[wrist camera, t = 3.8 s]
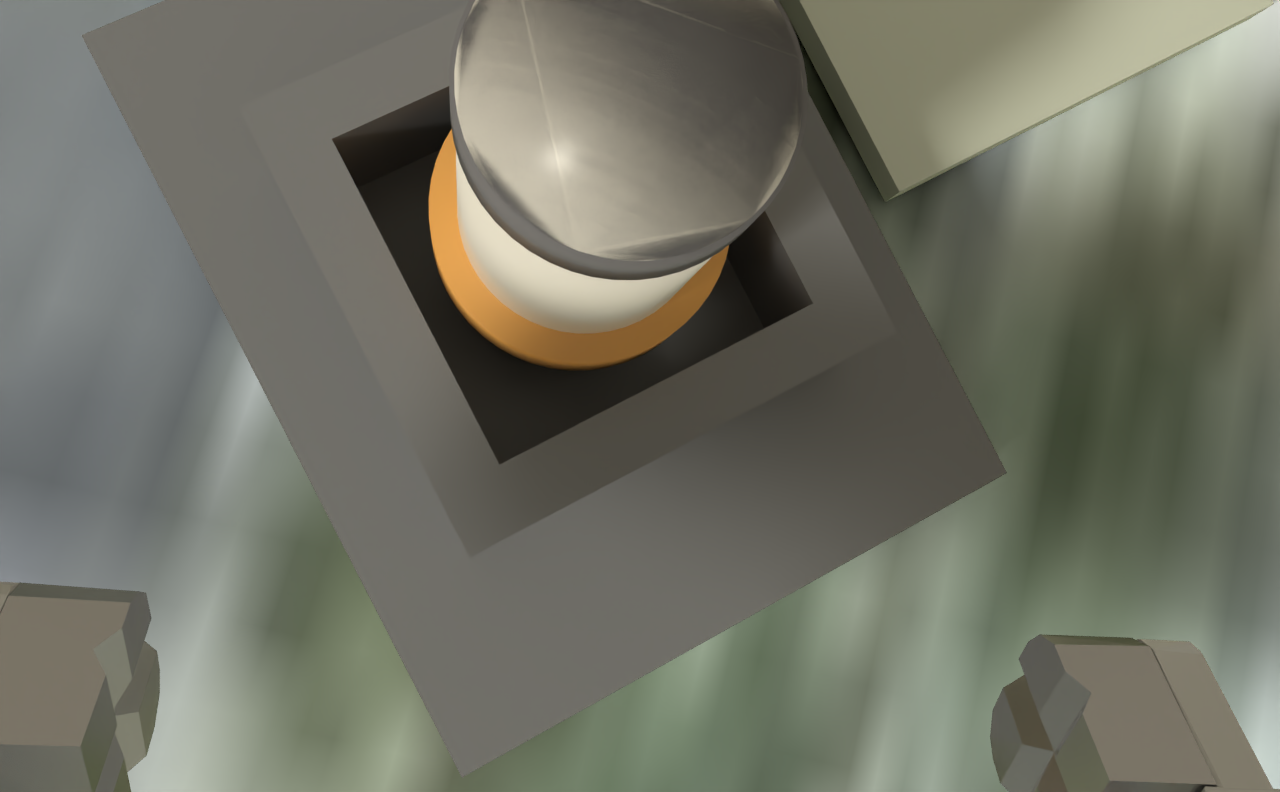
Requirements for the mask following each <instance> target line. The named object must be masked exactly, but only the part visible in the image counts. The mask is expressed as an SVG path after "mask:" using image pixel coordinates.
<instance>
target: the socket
mask: <svg viewBox="0 0 1280 792" xmlns="http://www.w3.org/2000/svg"><path fill="white" fill-rule="evenodd" d="M468 2H469V0H165V1H162V2H160V3H157V4H155V5H153V6H150V7H148V8H145V9H143V10H141V11H138V12H136V13H134V14H131V15H129V16H126V17H124V18H122V19H119V20H117V21H115V22H112V23H110V24H107V25H105V26H103V27H100V28H98V29H95V30H93V31H91V32H88V33H86V34H84V35H82V37H83V39H84V41H85V43H86V45H87V47H88V49H89V51H90V52H91V54H92V56H93V58H94V60H95V62H96V64H97V66H98V68H99V70H100V72H101V74H102V76H103V78H104V80H105V82H106V84H107V86H108V88H109V90H110V92H111V93H112V95H113V97H114V99H115V101H116V103H117V105H118V107H119V109H120V111H121V113H122V115H123V117H124V119H125V121H126V123H127V125H128V127H129V129H130V131H131V132H132V134H133V136H134V138H135V140H136V142H137V144H138V146H139V148H140V150H141V152H142V154H143V156H144V158H145V160H146V162H147V164H148V166H149V168H150V170H151V172H152V173H153V175H154V177H155V179H156V181H157V183H158V185H159V187H160V189H161V191H162V193H163V195H164V197H165V199H166V201H167V203H168V205H169V207H170V209H171V211H172V213H173V214H174V216H175V218H176V220H177V222H178V224H179V226H180V228H181V230H182V232H183V234H184V236H185V238H186V240H187V242H188V244H189V246H190V248H191V250H192V252H193V254H194V255H195V257H196V259H197V261H198V263H199V265H200V267H201V269H202V271H203V273H204V275H205V277H206V279H207V281H208V283H209V285H210V287H211V289H212V291H213V293H214V294H215V296H216V298H217V300H218V302H219V304H220V306H221V308H222V310H223V312H224V314H225V316H226V318H227V320H228V322H229V324H230V326H231V328H232V330H233V332H234V334H235V335H236V337H237V339H238V341H239V343H240V345H241V347H242V349H243V351H244V353H245V355H246V357H247V359H248V361H249V363H250V365H251V367H252V369H253V371H254V373H255V375H256V376H257V378H258V380H259V382H260V384H261V386H262V388H263V390H264V392H265V394H266V396H267V398H268V400H269V402H270V404H271V406H272V408H273V410H274V412H275V414H276V416H277V417H278V419H279V421H280V423H281V425H282V427H283V429H284V431H285V433H286V435H287V437H288V439H289V441H290V443H291V445H292V447H293V449H294V451H295V453H296V455H297V456H298V458H299V460H300V462H301V464H302V466H303V468H304V470H305V472H306V474H307V476H308V478H309V480H310V482H311V484H312V486H313V488H314V490H315V492H316V494H317V496H318V497H319V499H320V501H321V503H322V505H323V507H324V509H325V511H326V513H327V515H328V517H329V519H330V521H331V523H332V525H333V527H334V529H335V531H336V533H337V535H338V537H339V538H340V540H341V542H342V544H343V546H344V548H345V550H346V552H347V554H348V556H349V558H350V560H351V562H352V564H353V566H354V568H355V570H356V572H357V574H358V576H359V578H360V579H361V581H362V583H363V585H364V587H365V589H366V591H367V593H368V595H369V597H370V599H371V601H372V603H373V605H374V607H375V609H376V611H377V613H378V615H379V617H380V619H381V620H382V622H383V624H384V626H385V628H386V630H387V632H388V634H389V636H390V638H391V640H392V642H393V644H394V646H395V648H396V650H397V652H398V654H399V656H400V658H401V659H402V661H403V663H404V665H405V667H406V669H407V671H408V673H409V675H410V677H411V679H412V681H413V683H414V685H415V687H416V689H417V691H418V693H419V695H420V697H421V699H422V700H423V702H424V704H425V706H426V708H427V710H428V712H429V714H430V716H431V718H432V720H433V722H434V724H435V726H436V728H437V730H438V732H439V734H440V736H441V738H442V740H443V741H444V743H445V745H446V747H447V749H448V751H449V753H450V755H451V757H452V759H453V761H454V763H455V765H456V767H457V769H458V771H459V773H460V775H461V777H464V776H465V775H467V774H469V773H471V772H472V771H474V770H476V769H478V768H480V767H481V766H483V765H485V764H487V763H489V762H490V761H492V760H494V759H496V758H498V757H499V756H501V755H503V754H505V753H506V752H508V751H510V750H512V749H514V748H515V747H517V746H519V745H521V744H523V743H524V742H526V741H528V740H530V739H532V738H533V737H535V736H537V735H539V734H540V733H542V732H544V731H546V730H548V729H549V728H551V727H553V726H555V725H557V724H558V723H560V722H562V721H564V720H566V719H567V718H569V717H571V716H573V715H574V714H576V713H578V712H580V711H582V710H583V709H585V708H587V707H589V706H591V705H592V704H594V703H596V702H598V701H600V700H601V699H603V698H605V697H607V696H608V695H610V694H612V693H614V692H616V691H617V690H619V689H621V688H623V687H625V686H626V685H628V684H630V683H632V682H634V681H635V680H637V679H639V678H641V677H642V676H644V675H646V674H648V673H650V672H651V671H653V670H655V669H657V668H659V667H660V666H662V665H664V664H666V663H668V662H669V661H671V660H673V659H675V658H676V657H678V656H680V655H682V654H684V653H685V652H687V651H689V650H691V649H693V648H694V647H696V646H698V645H700V644H702V643H703V642H705V641H707V640H709V639H710V638H712V637H714V636H716V635H718V634H719V633H721V632H723V631H725V630H727V629H728V628H730V627H732V626H734V625H736V624H737V623H739V622H741V621H743V620H744V619H746V618H748V617H750V616H752V615H753V614H755V613H757V612H759V611H761V610H762V609H764V608H766V607H768V606H770V605H771V604H773V603H775V602H777V601H778V600H780V599H782V598H784V597H786V596H787V595H789V594H791V593H793V592H795V591H796V590H798V589H800V588H802V587H804V586H805V585H807V584H809V583H811V582H812V581H814V580H816V579H818V578H820V577H821V576H823V575H825V574H827V573H829V572H830V571H832V570H834V569H836V568H838V567H839V566H841V565H843V564H845V563H846V562H848V561H850V560H852V559H854V558H855V557H857V556H859V555H861V554H863V553H864V552H866V551H868V550H870V549H872V548H873V547H875V546H877V545H879V544H880V543H882V542H884V541H886V540H888V539H889V538H891V537H893V536H895V535H897V534H898V533H900V532H902V531H904V530H906V529H907V528H909V527H911V526H913V525H914V524H916V523H918V522H920V521H922V520H923V519H925V518H927V517H929V516H931V515H932V514H934V513H936V512H938V511H940V510H941V509H943V508H945V507H947V506H948V505H950V504H952V503H954V502H956V501H957V500H959V499H961V498H963V497H965V496H966V495H968V494H970V493H972V492H974V491H975V490H977V489H979V488H981V487H982V486H984V485H986V484H988V483H990V482H991V481H993V480H995V479H997V478H999V477H1000V476H1002V475H1004V474H1006V473H1007V472H1006V470H1005V468H1004V467H1003V465H1002V463H1001V461H1000V459H999V457H998V455H997V453H996V451H995V449H994V447H993V445H992V444H991V442H990V440H989V438H988V436H987V434H986V432H985V430H984V428H983V426H982V424H981V422H980V421H979V419H978V417H977V415H976V413H975V411H974V409H973V407H972V405H971V403H970V401H969V399H968V398H967V396H966V394H965V392H964V390H963V388H962V386H961V384H960V382H959V380H958V378H957V376H956V375H955V373H954V371H953V369H952V367H951V365H950V363H949V361H948V359H947V357H946V355H945V353H944V352H943V350H942V348H941V346H940V344H939V342H938V340H937V338H936V336H935V334H934V332H933V330H932V329H931V327H930V325H929V323H928V321H927V319H926V317H925V315H924V313H923V311H922V309H921V308H920V306H919V304H918V302H917V300H916V298H915V296H914V294H913V292H912V290H911V288H910V286H909V285H908V283H907V281H906V279H905V277H904V275H903V273H902V271H901V269H900V267H899V265H898V263H897V262H896V260H895V258H894V256H893V254H892V252H891V250H890V248H889V246H888V244H887V242H886V240H885V239H884V237H883V235H882V233H881V231H880V229H879V227H878V225H877V223H876V221H875V219H874V217H873V216H872V214H871V212H870V210H869V208H868V206H867V204H866V202H865V200H864V198H863V196H862V194H861V193H860V191H859V189H858V187H857V185H856V183H855V181H854V179H853V177H852V175H851V173H850V171H849V170H848V168H847V166H846V164H845V162H844V160H843V158H842V156H841V154H840V152H839V150H838V148H837V147H836V145H835V143H834V141H833V139H832V137H831V135H830V133H829V131H828V129H827V127H826V126H825V124H824V122H823V120H822V118H821V116H820V114H819V112H818V110H817V108H816V106H815V104H814V103H813V101H812V99H811V97H810V95H809V93H808V107H807V118H806V127H805V131H804V135H803V140H802V144H801V148H800V151H799V153H798V156H797V159H796V161H795V164H794V167H793V169H792V171H791V173H790V174H789V176H788V178H787V180H786V182H785V184H784V186H783V187H782V189H781V190H780V192H779V193H778V194H777V196H776V197H775V198H774V200H773V201H772V203H771V204H770V205H769V207H768V208H767V209H766V210H765V211H764V212H763V213H762V214H761V215H760V216H759V217H758V218H757V219H756V220H755V221H754V222H753V223H752V224H751V225H750V226H749V227H748V228H747V229H746V230H745V231H744V232H743V233H742V234H741V235H740V236H739V237H738V238H737V239H736V240H734V241H733V242H732V243H731V244H729V248H728V252H727V257H726V260H725V263H724V265H723V268H722V271H721V273H720V276H719V278H718V280H717V282H716V284H715V286H714V287H713V289H712V291H711V293H710V295H709V296H708V297H707V299H706V300H705V301H704V303H703V304H702V305H701V307H700V308H699V310H698V311H697V312H696V313H695V314H694V315H693V316H692V317H691V318H690V319H689V320H688V321H687V322H686V323H685V324H684V325H683V326H681V327H680V328H679V329H678V330H677V331H675V332H674V333H673V334H672V335H671V336H669V337H668V338H667V339H666V340H664V341H663V342H662V343H661V344H659V345H658V346H657V347H655V348H653V349H652V350H650V351H648V352H647V353H645V354H643V355H642V356H639V357H637V358H635V359H632V360H630V361H628V362H625V363H622V364H619V365H615V366H611V367H608V368H602V369H595V370H588V371H568V370H559V369H551V368H547V367H543V366H539V365H535V364H531V363H529V362H526V361H524V360H521V359H519V358H516V357H514V356H512V355H510V354H509V353H507V352H505V351H503V350H501V349H500V348H498V347H496V346H495V345H494V344H492V343H491V342H490V341H488V340H487V339H486V338H484V337H483V336H482V335H481V334H480V333H479V332H478V331H477V330H475V329H474V328H473V327H472V326H471V325H470V324H469V323H468V322H467V320H466V319H465V318H464V317H463V315H462V314H461V313H460V312H459V310H458V309H457V308H456V306H455V304H454V303H453V301H452V299H451V298H450V296H449V294H448V293H447V291H446V289H445V287H444V284H443V282H442V280H441V277H440V275H439V272H438V269H437V265H436V262H435V258H434V253H433V247H432V240H431V232H430V224H429V192H430V184H431V178H432V174H433V170H434V167H435V163H436V159H437V157H438V155H439V152H440V150H441V148H442V145H443V143H444V141H445V139H446V137H447V136H448V134H449V132H450V131H451V129H452V127H451V121H450V95H449V68H450V61H451V53H452V46H453V43H454V39H455V35H456V32H457V28H458V25H459V22H460V20H461V18H462V15H463V13H464V10H465V8H466V6H467V4H468ZM807 92H808V91H807Z"/></svg>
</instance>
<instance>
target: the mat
mask: <svg viewBox="0 0 1280 792" xmlns="http://www.w3.org/2000/svg"><path fill="white" fill-rule="evenodd" d="M780 2H781V4H782V6H783V8H784V10H785V11H786V13H787V15H788V17H789V19H790V21H791V23H792V25H793V27H794V29H795V31H796V33H797V34H798V36H799V38H800V40H801V42H802V44H803V46H804V48H805V50H806V52H807V54H808V56H809V57H810V59H811V61H812V63H813V65H814V67H815V69H816V71H817V73H818V75H819V77H820V79H821V80H822V82H823V84H824V86H825V88H826V90H827V92H828V94H829V96H830V98H831V100H832V101H833V103H834V105H835V107H836V109H837V111H838V113H839V115H840V117H841V119H842V121H843V123H844V124H845V126H846V128H847V130H848V132H849V134H850V136H851V138H852V140H853V142H854V144H855V146H856V147H857V149H858V151H859V153H860V155H861V157H862V159H863V161H864V163H865V165H866V167H867V168H868V170H869V172H870V174H871V176H872V178H873V180H874V182H875V184H876V186H877V188H878V190H879V191H880V193H881V195H882V197H883V199H884V201H885V202H887V201H889V200H891V199H893V198H895V197H897V196H899V195H901V194H903V193H905V192H907V191H909V190H911V189H913V188H914V187H916V186H918V185H920V184H922V183H924V182H926V181H928V180H930V179H932V178H934V177H936V176H938V175H940V174H942V173H944V172H946V171H948V170H950V169H952V168H954V167H956V166H958V165H960V164H962V163H964V162H966V161H968V160H970V159H972V158H974V157H976V156H978V155H980V154H982V153H984V152H986V151H988V150H990V149H992V148H994V147H996V146H998V145H1000V144H1002V143H1004V142H1006V141H1008V140H1010V139H1012V138H1014V137H1016V136H1018V135H1020V134H1022V133H1024V132H1026V131H1028V130H1030V129H1032V128H1034V127H1036V126H1038V125H1040V124H1042V123H1044V122H1046V121H1048V120H1050V119H1052V118H1054V117H1056V116H1058V115H1060V114H1062V113H1064V112H1066V111H1068V110H1070V109H1072V108H1073V107H1075V106H1077V105H1079V104H1081V103H1083V102H1085V101H1087V100H1089V99H1091V98H1093V97H1095V96H1097V95H1099V94H1101V93H1103V92H1105V91H1107V90H1109V89H1111V88H1113V87H1115V86H1117V85H1119V84H1121V83H1123V82H1125V81H1127V80H1129V79H1131V78H1133V77H1135V76H1137V75H1139V74H1141V73H1143V72H1145V71H1147V70H1149V69H1151V68H1153V67H1155V66H1157V65H1159V64H1161V63H1163V62H1165V61H1167V60H1169V59H1171V58H1173V57H1175V56H1177V55H1179V54H1181V53H1183V52H1185V51H1187V50H1189V49H1191V48H1193V47H1195V46H1197V45H1199V44H1201V43H1203V42H1205V41H1207V40H1209V39H1211V38H1213V37H1215V36H1217V35H1219V34H1221V33H1223V32H1225V31H1227V30H1229V29H1231V28H1232V27H1234V26H1236V25H1238V24H1240V23H1242V22H1244V21H1246V20H1248V19H1250V18H1252V17H1253V16H1255V15H1256V14H1258V13H1260V12H1261V11H1263V10H1265V9H1266V8H1268V7H1269V6H1271V5H1273V4H1274V3H1273V1H1272V0H780Z"/></svg>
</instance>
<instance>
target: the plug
mask: <svg viewBox="0 0 1280 792" xmlns="http://www.w3.org/2000/svg"><path fill="white" fill-rule="evenodd" d="M449 95H450V121H451V127H452V129H451V131H450V132H449V134H448V136H447V137H446V139H445V141H444V143H443V145H442V148H441V150H440V152H439V155H438V157H437V159H436V163H435V167H434V170H433V174H432V178H431V184H430V192H429V224H430V232H431V240H432V247H433V253H434V258H435V262H436V265H437V269H438V272H439V275H440V277H441V280H442V282H443V284H444V287H445V289H446V291H447V293H448V294H449V296H450V298H451V299H452V301H453V303H454V304H455V306H456V308H457V309H458V310H459V312H460V313H461V314H462V315H463V317H464V318H465V319H466V320H467V322H468V323H469V324H470V325H471V326H472V327H473V328H474V329H475V330H477V331H478V332H479V333H480V334H481V335H482V336H483V337H484V338H486V339H487V340H488V341H490V342H491V343H492V344H494V345H495V346H496V347H498V348H500V349H501V350H503V351H505V352H507V353H509V354H510V355H512V356H514V357H516V358H519V359H521V360H524V361H526V362H529V363H531V364H535V365H539V366H543V367H547V368H551V369H559V370H568V371H588V370H595V369H602V368H608V367H611V366H615V365H619V364H622V363H625V362H628V361H630V360H632V359H635V358H637V357H639V356H642V355H643V354H645V353H647V352H648V351H650V350H652V349H653V348H655V347H657V346H658V345H659V344H661V343H662V342H663V341H664V340H666V339H667V338H668V337H669V336H671V335H672V334H673V333H674V332H675V331H677V330H678V329H679V328H680V327H681V326H683V325H684V324H685V323H686V322H687V321H688V320H689V319H690V318H691V317H692V316H693V315H694V314H695V313H696V312H697V311H698V310H699V308H700V307H701V305H702V304H703V303H704V301H705V300H706V299H707V297H708V296H709V295H710V293H711V291H712V289H713V287H714V286H715V284H716V282H717V280H718V278H719V276H720V273H721V271H722V268H723V265H724V263H725V260H726V257H727V252H728V248H729V244H731V243H732V242H733V241H734V240H736V239H737V238H738V237H739V236H740V235H741V234H742V233H743V232H744V231H745V230H746V229H747V228H748V227H749V226H750V225H751V224H752V223H753V222H754V221H755V220H756V219H757V218H758V217H759V216H760V215H761V214H762V213H763V212H764V211H765V210H766V209H767V208H768V207H769V205H770V204H771V203H772V201H773V200H774V198H775V197H776V196H777V194H778V193H779V192H780V190H781V189H782V187H783V186H784V184H785V182H786V180H787V178H788V176H789V174H790V173H791V171H792V169H793V167H794V164H795V161H796V159H797V156H798V153H799V151H800V148H801V144H802V140H803V135H804V131H805V127H806V118H807V107H808V92H807V77H806V71H805V65H804V59H803V55H802V52H801V49H800V45H799V42H798V39H797V36H796V34H795V31H794V29H793V27H792V25H791V22H790V20H789V18H788V16H787V14H786V12H785V10H784V9H783V7H782V6H781V4H780V2H779V1H778V0H469V2H468V4H467V6H466V8H465V10H464V13H463V15H462V18H461V20H460V22H459V25H458V28H457V32H456V35H455V39H454V43H453V46H452V53H451V61H450V68H449Z"/></svg>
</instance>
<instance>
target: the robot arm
mask: <svg viewBox="0 0 1280 792" xmlns="http://www.w3.org/2000/svg"><path fill="white" fill-rule="evenodd" d="M150 621H151V614H150V609H149V605H148V600H147V595H146V593H144V592H139V591H125V590H112V589H99V588H85V587H72V586H58V585H45V584H31V583H13V582H0V792H131V789H130V784H129V779H128V774H127V772H128V771H129V770H131V769H132V768H133V767H134V766H135V765H136V764H138V763H139V762H140V761H141V760H142V759H143V758H144V757H146V756H147V752H148V748H149V745H150V741H151V738H152V734H153V730H154V727H155V720H156V714H157V707H158V700H159V694H160V669H159V662H158V655H157V651H156V650H155V649H154V648H153V647H151V646H150V645H149V644H148V643H147V642H145V641H144V640H145V637H146V633H147V630H148V627H149V624H150ZM1019 661H1020V663H1021V666H1022V669H1023V672H1024V674H1025V675H1023V676H1022V677H1020V678H1018V679H1017V680H1015V681H1014V682H1012V683H1010V684H1009V685H1007V686H1005V687H1004V688H1003V689H1002V692H1001V694H1000V696H999V698H998V700H997V702H996V704H995V706H994V709H993V713H992V723H991V734H990V740H991V747H992V755H993V761H994V764H995V767H996V770H997V774H998V777H999V780H1000V783H1001V784H1002V785H1003V786H1004V787H1005V788H1006V789H1007V790H1008V791H1009V792H1280V789H1273V788H1272V786H1271V784H1270V782H1269V780H1268V778H1267V776H1266V774H1265V772H1264V771H1263V769H1262V767H1261V765H1260V763H1259V761H1258V759H1257V757H1256V755H1255V753H1254V751H1253V750H1252V748H1251V746H1250V744H1249V742H1248V740H1247V738H1246V736H1245V734H1244V732H1243V731H1242V729H1241V727H1240V725H1239V723H1238V721H1237V719H1236V717H1235V715H1234V713H1233V711H1232V710H1231V708H1230V706H1229V704H1228V702H1227V700H1226V698H1225V696H1224V694H1223V692H1222V691H1221V689H1220V687H1219V685H1218V683H1217V681H1216V679H1215V677H1214V675H1213V673H1212V671H1211V670H1210V668H1209V666H1208V664H1207V662H1206V660H1205V658H1204V656H1203V654H1202V653H1201V651H1200V650H1199V649H1197V648H1196V647H1195V646H1194V645H1193V644H1192V643H1191V642H1187V641H1167V640H1147V639H1138V640H1135V639H1133V638H1123V637H1095V636H1067V635H1038V636H1036V637H1035V638H1033V639H1032V640H1030V641H1029V642H1028V643H1027V645H1026V647H1025V649H1024V650H1023V652H1022V654H1021V656H1020V657H1019Z"/></svg>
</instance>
